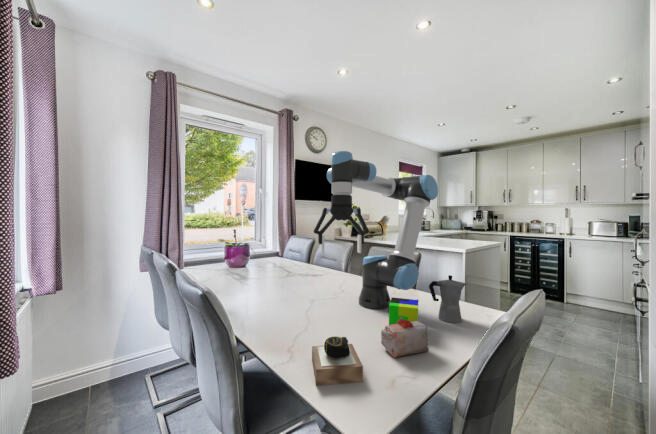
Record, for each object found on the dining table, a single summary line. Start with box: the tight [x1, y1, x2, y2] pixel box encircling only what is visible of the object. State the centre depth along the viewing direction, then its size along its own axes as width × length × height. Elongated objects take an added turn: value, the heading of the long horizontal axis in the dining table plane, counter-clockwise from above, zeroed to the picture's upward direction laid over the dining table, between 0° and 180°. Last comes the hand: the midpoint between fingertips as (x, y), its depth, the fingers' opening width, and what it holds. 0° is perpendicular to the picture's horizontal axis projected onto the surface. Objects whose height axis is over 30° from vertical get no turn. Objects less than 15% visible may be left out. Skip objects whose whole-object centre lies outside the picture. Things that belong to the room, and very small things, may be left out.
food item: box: [380, 317, 429, 359], centre depth 85 cm, size 14×8×10 cm, turn 110°
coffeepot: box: [428, 274, 467, 324], centre depth 111 cm, size 15×9×18 cm, turn 92°
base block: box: [311, 343, 364, 386], centre depth 74 cm, size 12×12×4 cm
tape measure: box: [323, 336, 350, 358], centre depth 74 cm, size 7×7×4 cm
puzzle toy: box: [388, 297, 419, 326], centre depth 101 cm, size 10×10×10 cm
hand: (341, 253), depth 98 cm, fingers open, 13 cm apart
